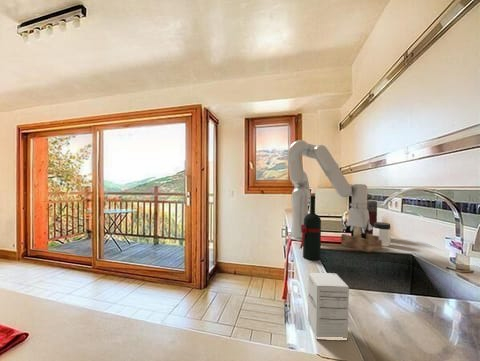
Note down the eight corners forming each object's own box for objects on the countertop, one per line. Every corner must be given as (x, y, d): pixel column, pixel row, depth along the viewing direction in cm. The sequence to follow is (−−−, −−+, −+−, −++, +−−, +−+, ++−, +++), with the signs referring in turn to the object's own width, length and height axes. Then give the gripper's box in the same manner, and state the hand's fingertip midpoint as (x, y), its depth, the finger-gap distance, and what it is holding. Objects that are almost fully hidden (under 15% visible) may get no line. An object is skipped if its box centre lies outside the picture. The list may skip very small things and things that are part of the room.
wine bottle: (295, 256, 109) (296, 192, 108) (313, 254, 112) (314, 192, 112) (304, 262, 101) (306, 193, 101) (324, 259, 104) (325, 193, 104)
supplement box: (307, 320, 59) (307, 271, 59) (336, 321, 59) (337, 272, 59) (315, 340, 52) (316, 285, 52) (348, 342, 52) (350, 286, 52)
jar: (387, 247, 125) (388, 225, 125) (371, 244, 131) (371, 223, 131) (391, 244, 131) (392, 223, 131) (375, 241, 137) (376, 221, 137)
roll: (351, 242, 129) (352, 222, 128) (356, 241, 132) (356, 221, 131) (360, 244, 125) (361, 224, 124) (365, 243, 127) (365, 223, 127)
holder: (341, 244, 129) (341, 234, 129) (354, 241, 137) (354, 231, 137) (369, 252, 117) (369, 240, 116) (381, 247, 125) (381, 236, 125)
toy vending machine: (351, 236, 150) (352, 193, 150) (364, 234, 154) (365, 192, 154) (364, 239, 142) (365, 194, 141) (376, 237, 146) (377, 193, 146)
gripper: (341, 205, 132) (340, 236, 133) (372, 208, 119) (371, 243, 119) (348, 204, 137) (347, 234, 137) (378, 207, 123) (377, 241, 123)
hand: (358, 238), depth 128 cm, fingers closed on roll, 4 cm apart
